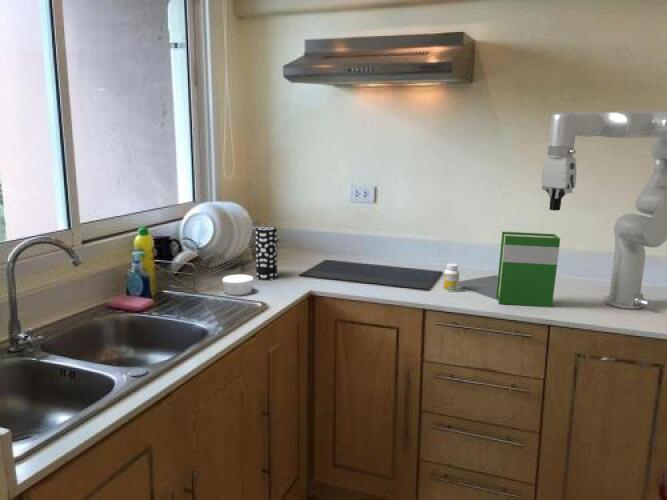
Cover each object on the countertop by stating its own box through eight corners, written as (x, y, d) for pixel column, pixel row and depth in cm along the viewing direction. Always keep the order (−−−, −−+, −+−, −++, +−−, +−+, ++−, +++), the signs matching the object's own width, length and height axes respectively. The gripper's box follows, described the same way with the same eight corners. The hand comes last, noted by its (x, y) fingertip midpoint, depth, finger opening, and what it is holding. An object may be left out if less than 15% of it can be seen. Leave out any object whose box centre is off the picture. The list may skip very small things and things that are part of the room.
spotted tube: (280, 278, 226) (280, 229, 222) (262, 281, 221) (261, 231, 217) (270, 273, 233) (270, 225, 228) (252, 276, 228) (251, 227, 224)
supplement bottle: (448, 286, 217) (450, 262, 215) (460, 289, 213) (462, 264, 211) (440, 289, 213) (442, 264, 211) (452, 292, 210) (454, 267, 208)
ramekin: (216, 294, 205) (216, 280, 204) (233, 286, 215) (232, 272, 214) (243, 298, 201) (243, 283, 200) (259, 289, 211) (259, 276, 210)
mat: (547, 292, 212) (547, 291, 212) (501, 301, 200) (501, 300, 200) (495, 275, 234) (495, 275, 234) (451, 283, 222) (451, 282, 222)
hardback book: (499, 303, 197) (505, 235, 191) (495, 296, 204) (502, 231, 198) (551, 307, 194) (560, 238, 189) (547, 300, 202) (554, 234, 196)
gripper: (589, 153, 175) (582, 212, 179) (549, 151, 188) (543, 206, 192) (573, 153, 172) (566, 214, 175) (533, 151, 184) (528, 207, 188)
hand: (554, 209), depth 184 cm, fingers closed
